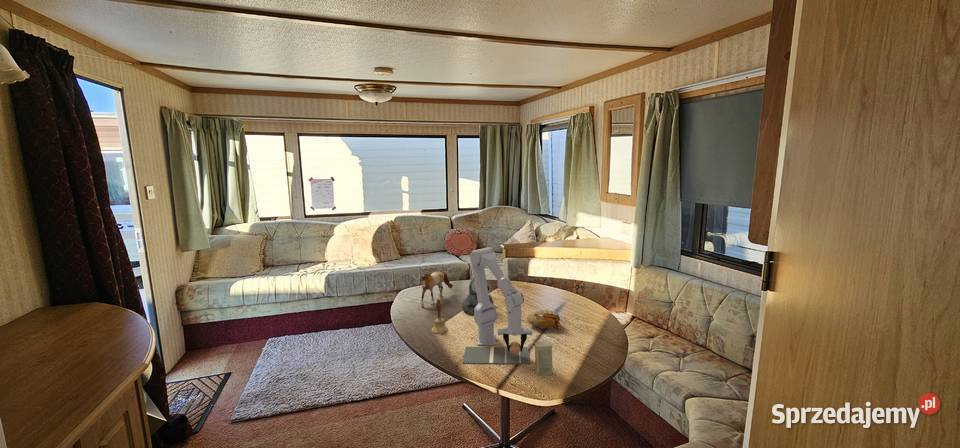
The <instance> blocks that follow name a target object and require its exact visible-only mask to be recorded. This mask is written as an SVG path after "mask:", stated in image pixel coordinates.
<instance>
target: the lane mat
mask: <svg viewBox="0 0 960 448" xmlns="http://www.w3.org/2000/svg"><path fill="white" fill-rule="evenodd" d="M529 350H530V349H529V346H523V350H522V352H521V350H520V352H519V353H518V354H513V353H511V352H508V349H507V346H465V349H464V353H463V358H462V362H461V364H466V365H470V364H471V365H531V362H530V361H531V360H530V359H531V358H530V352H529Z"/></svg>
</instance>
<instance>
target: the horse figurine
mask: <svg viewBox="0 0 960 448" xmlns="http://www.w3.org/2000/svg"><path fill="white" fill-rule="evenodd" d="M420 278H421V283H422V284H421V289H422V291H421V308H424V307H425V305H424V298H425V293H426V292H427V290H429V291H430V296H431V300H432V301H431V303H430V305H431V306H433V305H434V304H435V303H434V301H435V299H434V293H433V289H434V287H436V286H437V287H438V289H439V295H438V297H440V300H443V298H444V296H443V290H444V286H443V282H444V284H445V285H446V286H447V287H448V288H449V289H452V288H453V287H454V286H455V285H454V284H452V283H450V279H449V277H448V275H447V274H446V273H444V272H441V271H433V272H432V273H431V274H429V273H424V274H422V276H421V277H420Z"/></svg>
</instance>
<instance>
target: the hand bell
mask: <svg viewBox="0 0 960 448" xmlns="http://www.w3.org/2000/svg"><path fill="white" fill-rule="evenodd" d="M435 308H436V311H437V317H436V319H435V320H434V325H433V327H432V328H431V332H432V333H433V334H439V335H440V334H444V333H447V332H448V331H449V328H448V327H447V326H446V323H445V319H444V318H442V316H441V315H442V314H441V313H442V312H441V311H442V302H441V298H440V299H439V298H438V299H436V304H435Z"/></svg>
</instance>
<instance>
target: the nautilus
mask: <svg viewBox="0 0 960 448" xmlns="http://www.w3.org/2000/svg"><path fill="white" fill-rule="evenodd" d="M526 321H527V323H528V324H529V325H532V326H535V327H536V328H538V329H539V328H540V329H549V328H550V329H555V330H557V331H558V332H561V331H563V332H565V330H566V329H565V327H564V325H563V324H564V320H562V319H561V317H560V315H559V314H557V313H556V312H554V311H553V310H550V309H539V310H535V311H533V312H531V313H529V314H527V316H526ZM560 328H561V329H560Z"/></svg>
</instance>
